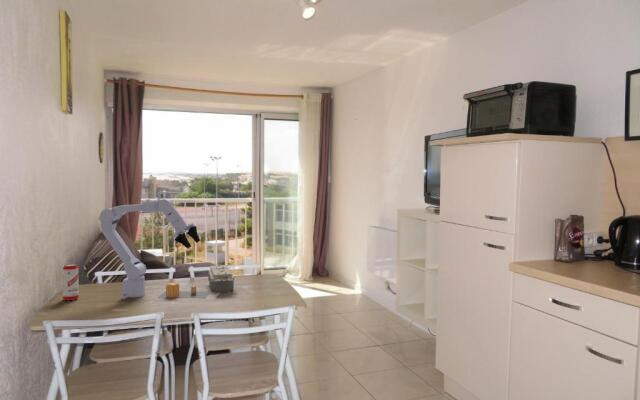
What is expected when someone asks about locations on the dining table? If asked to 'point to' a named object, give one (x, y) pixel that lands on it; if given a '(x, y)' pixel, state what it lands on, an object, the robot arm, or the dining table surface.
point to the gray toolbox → (220, 278)
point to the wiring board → (188, 294)
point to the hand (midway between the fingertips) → (194, 244)
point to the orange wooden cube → (172, 290)
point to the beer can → (70, 282)
